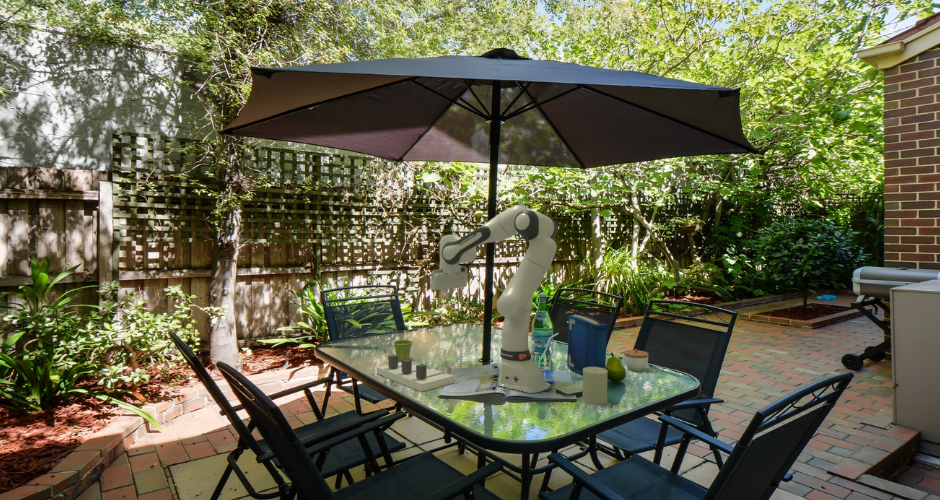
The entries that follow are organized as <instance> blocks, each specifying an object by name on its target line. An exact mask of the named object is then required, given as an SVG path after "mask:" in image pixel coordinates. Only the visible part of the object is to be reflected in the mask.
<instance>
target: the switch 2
mask: <svg viewBox="0 0 940 500" xmlns="http://www.w3.org/2000/svg"><path fill="white" fill-rule="evenodd" d="M419 364H420V365H416V378H419V379H423V378H427V367H428V366H427V364H423V363H419Z"/></svg>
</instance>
